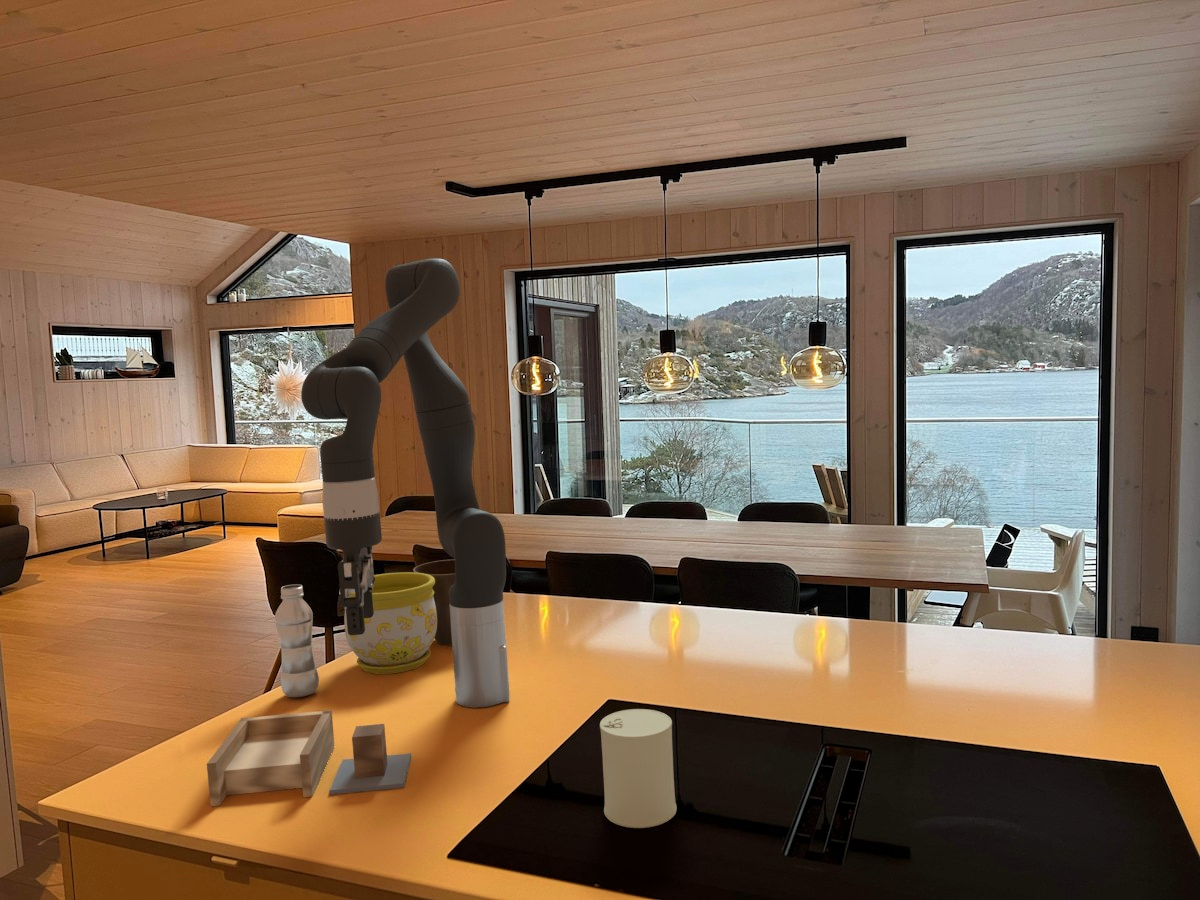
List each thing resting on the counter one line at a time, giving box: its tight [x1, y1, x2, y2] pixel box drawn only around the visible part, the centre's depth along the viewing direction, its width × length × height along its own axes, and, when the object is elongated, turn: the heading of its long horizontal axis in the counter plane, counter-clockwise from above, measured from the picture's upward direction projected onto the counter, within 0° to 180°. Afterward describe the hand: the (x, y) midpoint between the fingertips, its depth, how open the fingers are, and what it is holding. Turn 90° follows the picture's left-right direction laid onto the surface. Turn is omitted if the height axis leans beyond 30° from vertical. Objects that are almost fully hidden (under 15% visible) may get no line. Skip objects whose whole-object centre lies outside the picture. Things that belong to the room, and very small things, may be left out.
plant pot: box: [413, 558, 455, 646], centre depth 193 cm, size 15×15×16 cm
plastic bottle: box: [274, 584, 320, 698], centre depth 164 cm, size 6×7×20 cm
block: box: [351, 723, 388, 779], centre depth 130 cm, size 4×4×6 cm
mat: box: [329, 752, 412, 795], centre depth 130 cm, size 10×10×1 cm
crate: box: [206, 710, 335, 807], centre depth 131 cm, size 13×16×6 cm
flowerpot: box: [343, 571, 437, 675], centre depth 179 cm, size 18×18×16 cm
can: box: [599, 708, 677, 829], centre depth 115 cm, size 9×9×12 cm
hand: (361, 625), depth 128 cm, fingers open, 8 cm apart
